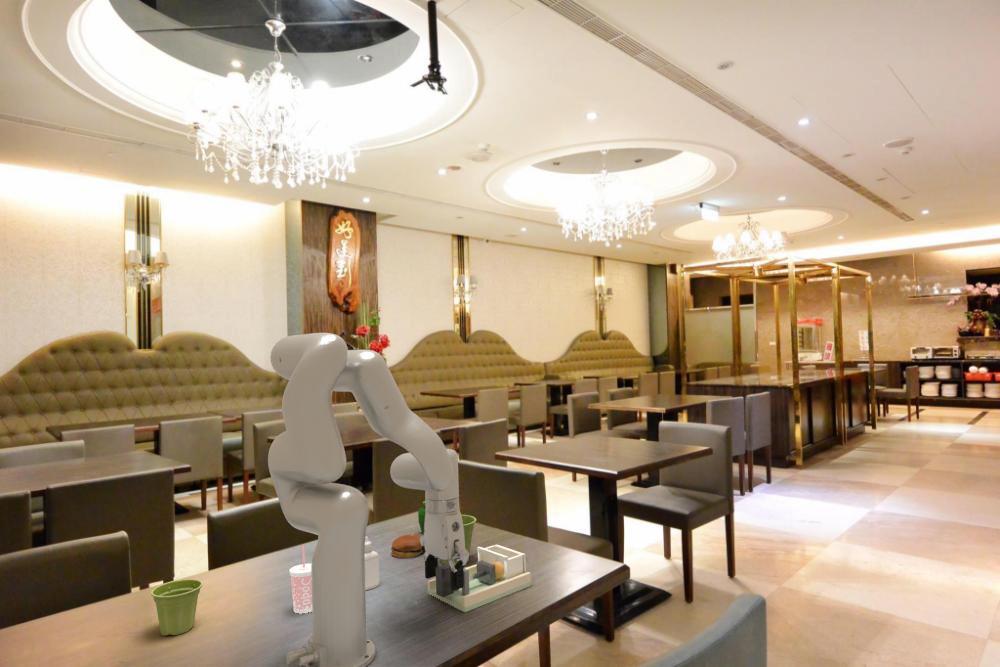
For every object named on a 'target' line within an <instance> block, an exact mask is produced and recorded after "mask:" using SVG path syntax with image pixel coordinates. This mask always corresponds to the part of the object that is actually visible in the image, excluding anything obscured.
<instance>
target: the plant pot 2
mask: <svg viewBox="0 0 1000 667" xmlns="http://www.w3.org/2000/svg"><path fill="white" fill-rule="evenodd" d="M461 516H462V521H463V527H464V537H465V549H466V550H467V551H468V552H469V555H470V553H471V545H472V538H473V531H474V528H475V527H474V526H475V523H476V522H477V517H475V516H473V515H469V514H461ZM452 556H455V555H451V557H452ZM440 560H441V565H443V564H446V563H447V564H449V562H448V561H445V560H443V559H440ZM469 560H470V556H469V557H468V561H467V564H469ZM457 562H458V561H457V560H454V563H455V565H456V564H457ZM449 565H450V564H449Z"/></svg>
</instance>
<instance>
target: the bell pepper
mask: <svg viewBox="0 0 1000 667" xmlns="http://www.w3.org/2000/svg"><path fill="white" fill-rule="evenodd" d="M422 503H423V505H424V506H422V507H419V509H418V511H417V515H418V524H419V527H420V530H421V533H423V534H424V524H425V514H426V503H425V500H424V501H422Z"/></svg>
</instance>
